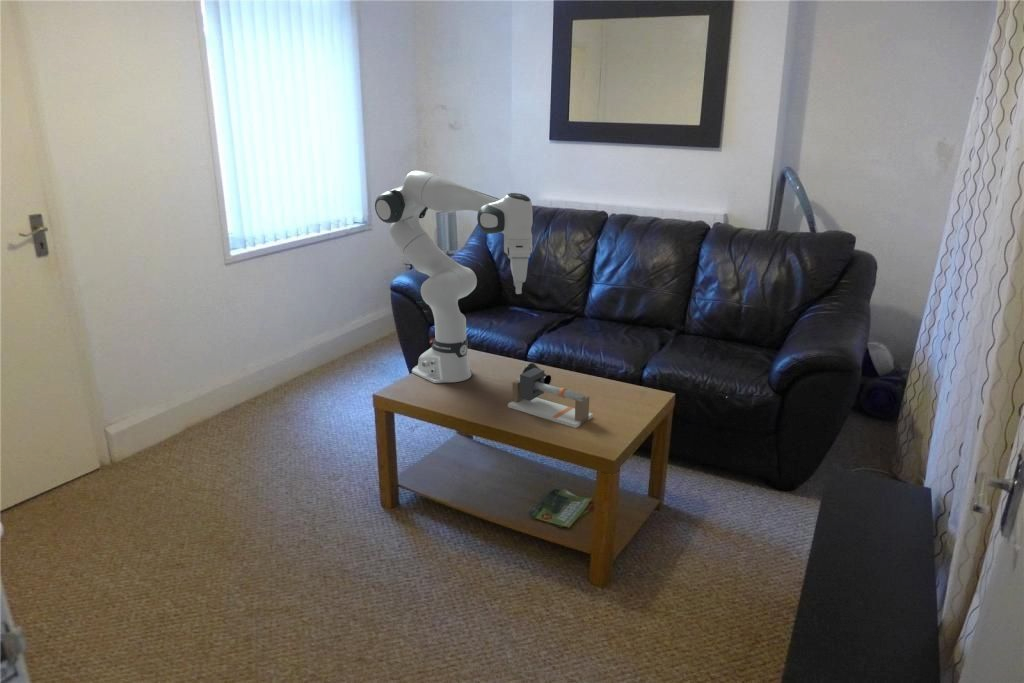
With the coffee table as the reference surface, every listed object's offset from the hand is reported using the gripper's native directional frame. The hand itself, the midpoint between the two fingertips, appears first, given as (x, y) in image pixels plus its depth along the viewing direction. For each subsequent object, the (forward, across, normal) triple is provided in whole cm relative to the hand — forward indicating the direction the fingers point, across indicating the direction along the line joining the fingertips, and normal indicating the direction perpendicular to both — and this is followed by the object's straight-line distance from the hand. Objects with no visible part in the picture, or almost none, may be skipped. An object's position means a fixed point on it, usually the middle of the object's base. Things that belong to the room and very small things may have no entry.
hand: (517, 289), depth 224 cm
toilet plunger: (+38, -9, +4) cm, 40 cm away
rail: (+38, +11, +10) cm, 41 cm away
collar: (+34, +7, +5) cm, 35 cm away
